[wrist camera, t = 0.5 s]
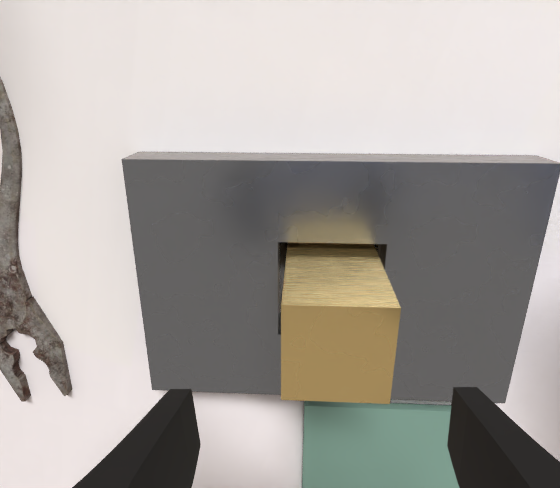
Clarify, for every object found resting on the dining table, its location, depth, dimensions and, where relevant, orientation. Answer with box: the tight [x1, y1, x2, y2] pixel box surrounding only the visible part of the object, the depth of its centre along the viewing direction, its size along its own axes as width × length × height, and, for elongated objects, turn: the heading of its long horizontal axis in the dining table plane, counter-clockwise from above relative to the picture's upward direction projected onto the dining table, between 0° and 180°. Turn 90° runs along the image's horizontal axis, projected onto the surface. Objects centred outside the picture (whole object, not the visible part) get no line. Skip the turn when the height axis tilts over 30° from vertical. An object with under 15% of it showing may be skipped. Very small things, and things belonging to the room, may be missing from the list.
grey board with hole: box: [122, 152, 560, 403], centre depth 20 cm, size 18×12×2 cm, turn 90°
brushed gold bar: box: [281, 242, 401, 404], centre depth 18 cm, size 4×4×7 cm
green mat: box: [302, 401, 459, 488], centre depth 26 cm, size 10×10×1 cm
